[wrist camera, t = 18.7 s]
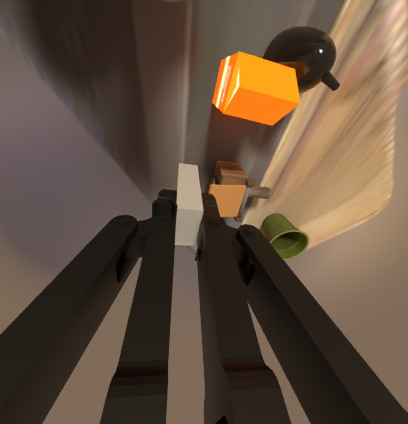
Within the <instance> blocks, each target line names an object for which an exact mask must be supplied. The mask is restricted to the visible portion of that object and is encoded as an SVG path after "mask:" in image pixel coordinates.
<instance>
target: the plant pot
mask: <svg viewBox="0 0 408 424" xmlns="http://www.w3.org/2000/svg"><path fill="white" fill-rule="evenodd" d="M263 227H264V231H265V235H266V239H267V240H268V242H269V243H270V244H271V245H272V247H273V248H274V249H275V250H276V251H277V253H278V254H279V255H280V256H281V258H282V259H283V260H288V259H292V258H294V257H296V256H298V255H300V254H301V253H302V252H304V251H305V249H306V248H307V247H308V244H309V237H308V235H307V234H306V233H304V232H303V231H300V230H299V229H297V228H296V227H295V226H294V225H293V224H292V223H290V222H289V221H288V220H287V219H286V218H285V217H284V216H283V215H281V214H272V215H269V216H268V217H267V218H266V219H265V221H264V222H263Z"/></svg>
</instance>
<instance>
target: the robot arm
mask: <svg viewBox="0 0 408 424" xmlns="http://www.w3.org/2000/svg"><path fill="white" fill-rule="evenodd" d="M197 241H198V248H197V253H196V258H195V261H197V266H198V283H199V298H200V314H201V330H202V346H203V362H204V378H205V400H204V424H291V422H290V418H289V415H288V411H287V408H286V405H285V402H284V398H283V395H282V392H281V388H280V386H279V383H278V380H277V378H276V376H275V374H274V372H273V371H272V370H271V369H270V368H269V367H268V366H266V364H265V363H264V360H263V358H262V354H261V351H260V347H259V343H258V340H257V336H256V332H255V329H254V325H253V321H252V318H251V314H250V311H249V307H248V303H249V305H250V307H251V308H252V311H253V312H254V315H255V317H256V318H257V320H258V322H259V324H260V326H261V328H262V330H263V332H264V334H265V336H266V338H267V340H268V342H269V344H270V345H271V348H272V349H273V351H274V353H275V355H276V357H277V359H278V361H279V363H280V365H281V367H282V369H283V371H284V373H285V375H286V377H287V379H288V380H289V382H290V384H291V386H292V388H293V390H294V392H295V394H296V396H297V398H298V400H299V402H300V404H301V406H302V408H303V409H304V411H305V414H306V415H307V417H308V419H309V421H310V423H311V424H408V412H407V411H405V409H403V408H402V406H401V405H400V404H399V403H398V402H397V400H396V399H395V398H394V397H393V395H392V394H391V393H390V392H389V390H388V389H387V388H386V387H385V386H384V384H383V383H382V382H381V381H380V379H379V378H378V377H377V376H376V374H375V373H374V372H373V371H372V369H371V368H370V367H369V366H368V364H367V363H366V362H365V361H364V359H363V358H362V357H361V356H360V354H359V353H358V352H357V351H356V349H355V348H354V347H353V346H352V345H351V343H350V342H349V341H348V340H347V338H346V337H345V336H344V335H343V333H342V332H341V331H340V330H339V328H338V327H337V326H336V325H335V324H334V322H333V321H332V320H331V318H330V317H329V316H328V315H327V314H326V312H325V311H324V310H323V309H322V307H321V306H320V305H319V304H318V303H317V301H316V300H315V299H314V297H313V296H312V295H311V294H310V292H309V291H308V290H307V289H306V288H305V286H304V285H303V284H302V283H301V281H300V280H299V279H298V278H297V276H296V275H295V274H294V273H293V271H292V270H291V269H290V268H289V266H288V265H287V264H286V263H285V261H284V260H283V259H282V258H281V256H280V255H279V254H278V253H277V251H276V250H275V249H274V248H273V247H272V245H271V244H270V243H269V242H268V240H267V239H266V238H265V237H264V235H263V234H262V233H261V232H260V231H259V230H258V229H257V228H256V227H254V226H252V225H247V224H244V225H241V226H240V227H239V229H236V228H233V227H230V226H228V225H226V222H225V221H224V219H223V218H221V217H220V214H219V210H218V206H217V202H216V198H215V197H214V196H213V195H212V194H208V193H201V189H200V182H199V175H198V167H197V165H189V164H181V163H179V170H178V180H177V191H175V190H166V189H163V190H161V191H160V192H159V195H158V199H157V200H155V201H154V202H153V203H152V217H151V218H150V219H147V220H143V221H137V219H135V218H134V217H132V216H129V215H121V216H117V217H114V218H113V219H112V220H111V221H110V222H109V223H108V224H107V225H106V226H105V227H104V228H103V229H102V230H101V231H100V232H99V233H98V234H97V235H96V236H95V237H94V238H93V239H92V240H91V241H90V242H89V244H87V245H86V247H85V248H84V249H83V250H82V251H81V252H80V253H79V254H78V255H77V256H76V257H75V258H74V259H73V260H72V261H71V262H70V263H69V264H68V265H67V266H66V267H65V268H64V269H63V270H62V271H61V272H60V273H59V275H57V277H56V278H55V279H54V280H53V281H52V282H51V283H50V284H49V285H48V286H47V287H46V288H45V289H44V290H43V291H42V292H41V293H40V294H39V295H38V296H37V297H36V298H35V299H34V300H33V301H32V303H31V304H30V305H29V306H28V307H27V308H26V309H25V310H24V311H23V312H22V313H21V314H20V315H19V316H18V317H17V318H16V319H15V320H14V321H13V322H12V323H11V324H10V325H9V326H8V327H7V328H6V330H5V331H3V333H2V334H1V335H0V424H42V423H43V421H44V420H45V418H46V416H47V414H48V413H49V411H50V409H51V407H52V406H53V404H54V402H55V400H56V399H57V397H58V396H59V394H60V392H61V390H62V389H63V387H64V385H65V384H66V382H67V380H68V379H69V377H70V375H71V373H72V372H73V370H74V368H75V367H76V365H77V363H78V361H79V360H80V358H81V356H82V354H83V353H84V351H85V349H86V348H87V346H88V344H89V342H90V341H91V339H92V337H93V336H94V334H95V332H96V331H97V329H98V327H99V326H100V324H101V322H102V321H103V319H104V317H105V315H106V314H107V312H108V310H109V309H110V307H111V305H112V303H113V302H114V300H115V298H116V297H117V295H118V293H119V291H120V290H121V288H122V286H123V285H124V283H125V281H126V280H127V278H128V276H129V274H130V273H131V271H132V269H133V267H134V266H135V264H136V262H137V261H138V258H140V257H143V258H142V262H141V267H140V271H139V276H138V280H137V284H136V289H135V293H134V297H133V302H132V307H131V310H130V315H129V319H128V324H127V328H126V332H125V337H124V341H123V345H122V349H121V354H120V358H119V362H118V366H117V370H116V372H115V374H114V376H113V377H112V380H111V383H110V386H109V389H108V393H107V396H106V401H105V404H104V409H103V413H102V417H101V421H100V424H166V409H167V387H168V355H169V338H170V337H169V336H170V321H171V319H170V318H171V302H172V285H173V267H174V250H175V245H189V246H196V245H197ZM247 301H248V303H247Z"/></svg>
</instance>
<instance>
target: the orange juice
mask: <svg viewBox="0 0 408 424" xmlns="http://www.w3.org/2000/svg"><path fill="white" fill-rule="evenodd" d="M212 103H213V104H214V105H215V106H216V107H217V108H218V109H219V110H220V111H222V112H223V113H224V114H228V115H232V116H236V117H240V118H244V119H248V120H252V121H256V122H260V123H264V124H268V125H274V124H275V123H276V122H277V121H278V120H280V119H281V118H282V117H283V116H285V115H286V114H287V113H288V112H290V111H291V110H292V109H293V108H295V107H296V106H297V105H299V104H300V98H299V92H298V86H297V79H296V73H295V69H293V68H290V67H287V66H284V65H280V64H277V63H274V62H271V61H268V60H265V59H262V58H258V57H255V56H252V55H249V54H246V53H243V52H239V53H236V54H234V55H232V56H229V57H227V58H225V59H223V60H222V61H221V65H220V70H219V74H218V79H217V84H216V88H215V93H214V97H213V102H212Z"/></svg>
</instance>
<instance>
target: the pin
mask: <svg viewBox="0 0 408 424" xmlns="http://www.w3.org/2000/svg"><path fill="white" fill-rule="evenodd" d="M218 184H219V183H218V181H217V178H216V177H215V176H210V178H209V182H208V191H207V193H208V192H209V187H210V185H218ZM272 194H273V192H272V190H271V189H270V188H268V187H261V186H254V187H251V190H250V193H249V196H248V197H254V198H263V199H268V198H270V197H271V196H272Z"/></svg>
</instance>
